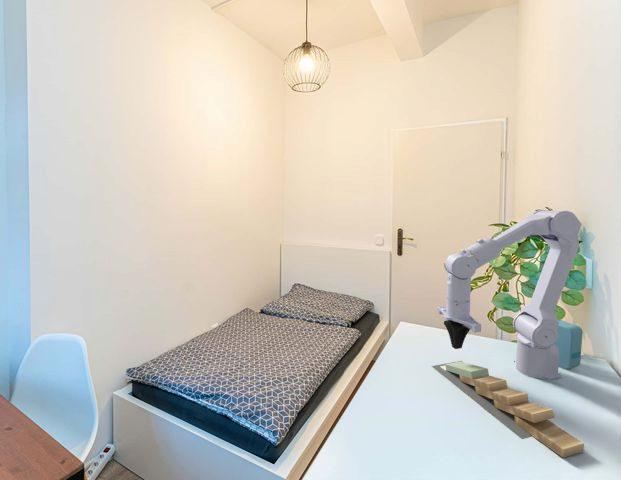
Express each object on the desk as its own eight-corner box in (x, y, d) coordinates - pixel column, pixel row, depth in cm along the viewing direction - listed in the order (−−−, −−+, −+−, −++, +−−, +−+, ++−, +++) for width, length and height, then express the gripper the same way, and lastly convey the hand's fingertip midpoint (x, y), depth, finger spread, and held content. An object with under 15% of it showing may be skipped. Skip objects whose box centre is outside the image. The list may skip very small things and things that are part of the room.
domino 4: (514, 415, 67) (563, 449, 58) (533, 410, 69) (584, 443, 59) (514, 422, 67) (562, 457, 58) (533, 417, 69) (583, 451, 59)
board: (461, 363, 93) (461, 360, 93) (561, 432, 66) (561, 428, 65) (431, 368, 91) (431, 365, 91) (521, 442, 63) (521, 438, 63)
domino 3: (493, 399, 73) (532, 414, 63) (511, 395, 74) (552, 409, 64) (494, 407, 72) (534, 422, 63) (513, 403, 74) (554, 417, 64)
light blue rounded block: (580, 368, 89) (583, 326, 88) (569, 371, 88) (572, 329, 86) (536, 349, 100) (539, 312, 99) (526, 352, 99) (528, 315, 97)
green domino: (445, 364, 89) (470, 371, 79) (460, 361, 90) (487, 368, 80) (446, 370, 88) (472, 378, 79) (461, 367, 90) (489, 375, 80)
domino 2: (474, 386, 78) (508, 397, 69) (492, 382, 79) (527, 393, 70) (476, 393, 78) (509, 405, 68) (493, 389, 79) (528, 401, 69)
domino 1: (459, 374, 83) (488, 383, 74) (475, 371, 85) (506, 380, 75) (460, 381, 83) (489, 391, 74) (476, 377, 84) (507, 387, 75)
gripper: (428, 293, 92) (427, 338, 93) (464, 309, 78) (463, 362, 79) (450, 290, 93) (448, 335, 95) (489, 306, 80) (486, 358, 81)
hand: (456, 347), depth 87 cm, fingers closed
